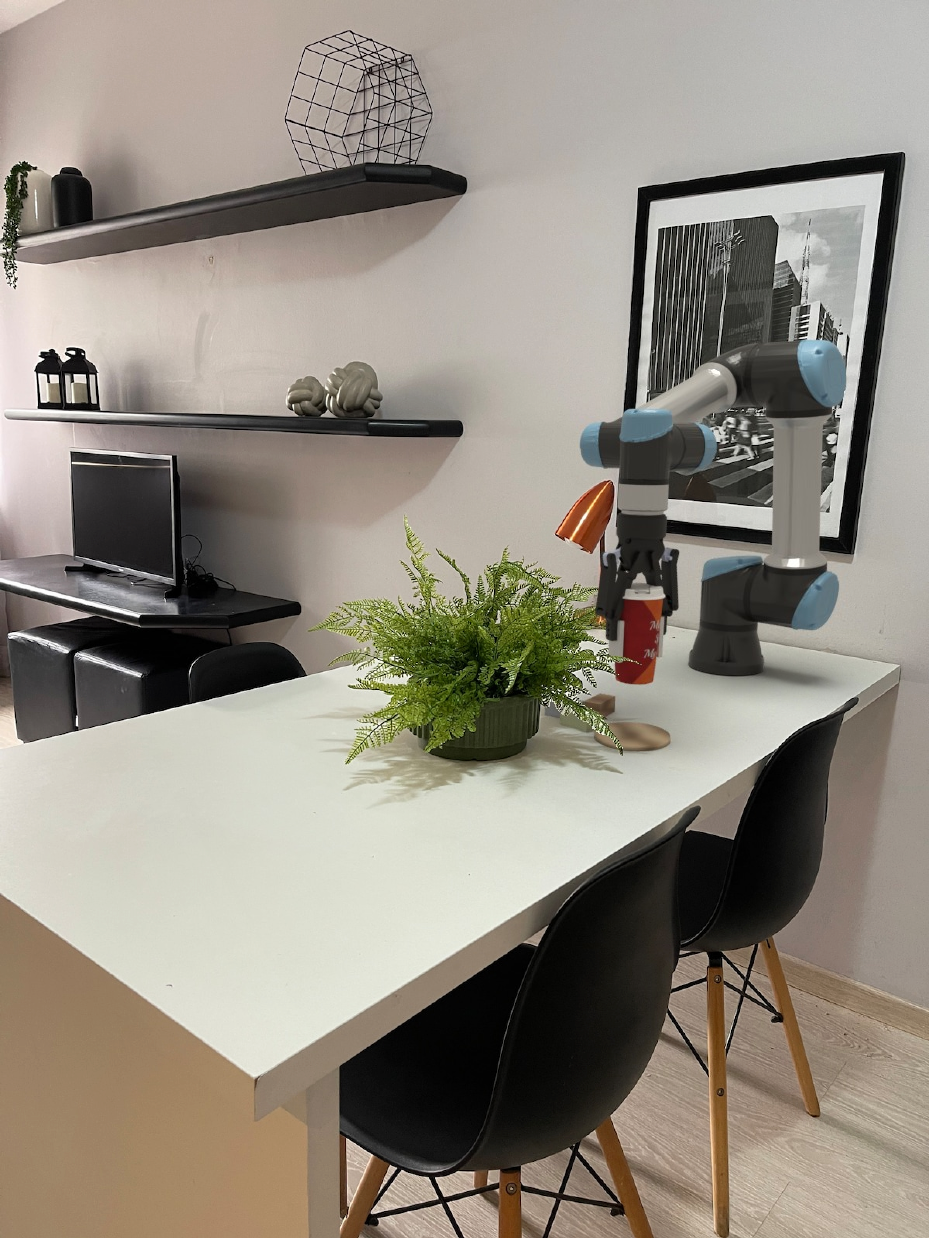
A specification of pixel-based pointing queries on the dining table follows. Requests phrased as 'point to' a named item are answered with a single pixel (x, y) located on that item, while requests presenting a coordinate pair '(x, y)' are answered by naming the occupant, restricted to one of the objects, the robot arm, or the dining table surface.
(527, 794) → the dining table surface
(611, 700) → the walnut block
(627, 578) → the robot arm
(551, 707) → the slate block
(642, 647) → the coffee cup
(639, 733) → the disc
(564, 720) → the olive block
